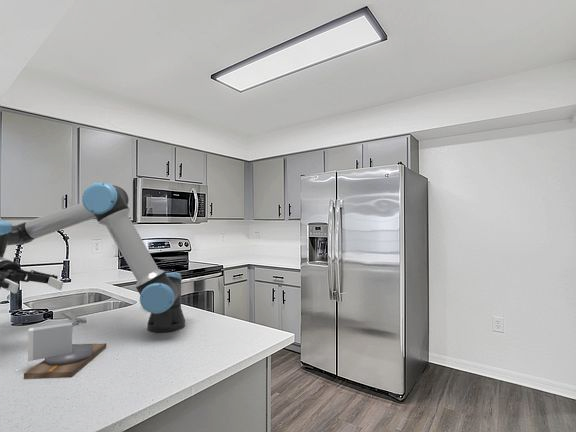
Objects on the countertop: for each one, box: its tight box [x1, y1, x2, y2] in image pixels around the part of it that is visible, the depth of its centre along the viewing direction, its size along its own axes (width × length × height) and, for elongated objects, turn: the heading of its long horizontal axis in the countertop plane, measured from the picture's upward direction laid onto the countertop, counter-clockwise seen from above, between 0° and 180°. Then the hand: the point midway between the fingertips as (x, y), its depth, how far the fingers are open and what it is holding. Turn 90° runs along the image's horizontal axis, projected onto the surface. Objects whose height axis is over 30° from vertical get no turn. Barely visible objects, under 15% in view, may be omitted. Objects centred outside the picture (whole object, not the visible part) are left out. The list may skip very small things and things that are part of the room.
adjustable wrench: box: [61, 310, 87, 327], centre depth 151 cm, size 25×6×2 cm, turn 43°
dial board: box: [23, 343, 107, 380], centre depth 105 cm, size 13×22×2 cm, turn 5°
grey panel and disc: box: [27, 322, 93, 365], centre depth 104 cm, size 17×13×11 cm
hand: (40, 287), depth 106 cm, fingers open, 13 cm apart
